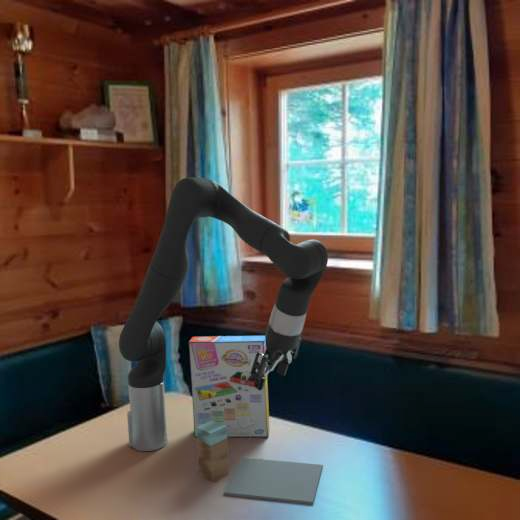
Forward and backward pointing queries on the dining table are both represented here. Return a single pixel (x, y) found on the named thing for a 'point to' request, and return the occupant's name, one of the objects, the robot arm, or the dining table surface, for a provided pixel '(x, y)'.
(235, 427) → the game box
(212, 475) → the brown and blue block
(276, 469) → the rubber mat
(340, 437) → the dining table surface
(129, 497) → the dining table surface
